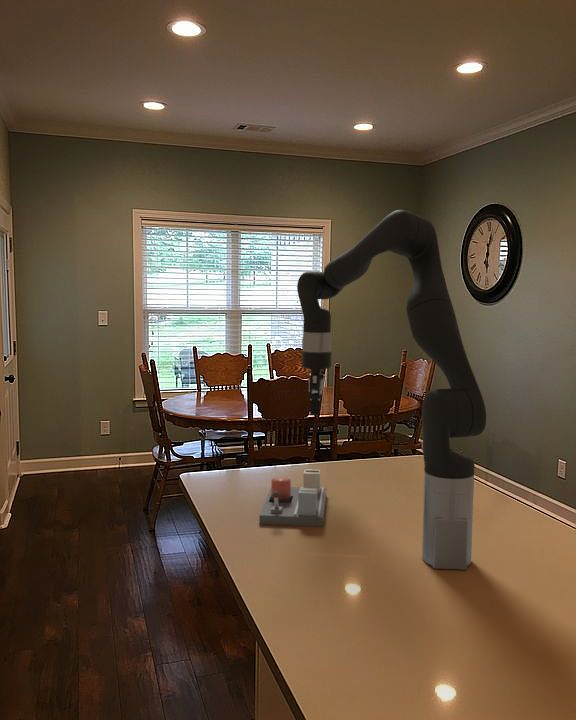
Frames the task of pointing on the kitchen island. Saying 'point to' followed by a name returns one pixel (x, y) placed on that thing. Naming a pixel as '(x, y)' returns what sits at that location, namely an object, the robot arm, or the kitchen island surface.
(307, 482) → the cream fader knob
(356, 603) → the kitchen island surface
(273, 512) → the panel
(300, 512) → the slate-blue fader knob
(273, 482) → the red push button
